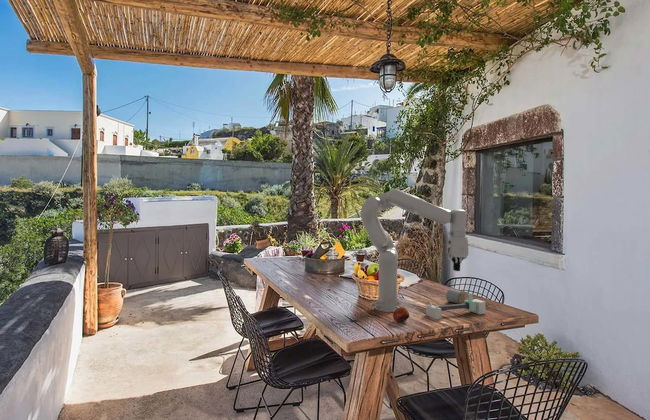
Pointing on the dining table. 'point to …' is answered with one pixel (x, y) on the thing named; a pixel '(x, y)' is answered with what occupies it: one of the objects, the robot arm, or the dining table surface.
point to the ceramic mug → (455, 296)
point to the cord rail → (436, 310)
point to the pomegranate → (400, 314)
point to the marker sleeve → (470, 303)
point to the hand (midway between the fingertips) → (456, 270)
